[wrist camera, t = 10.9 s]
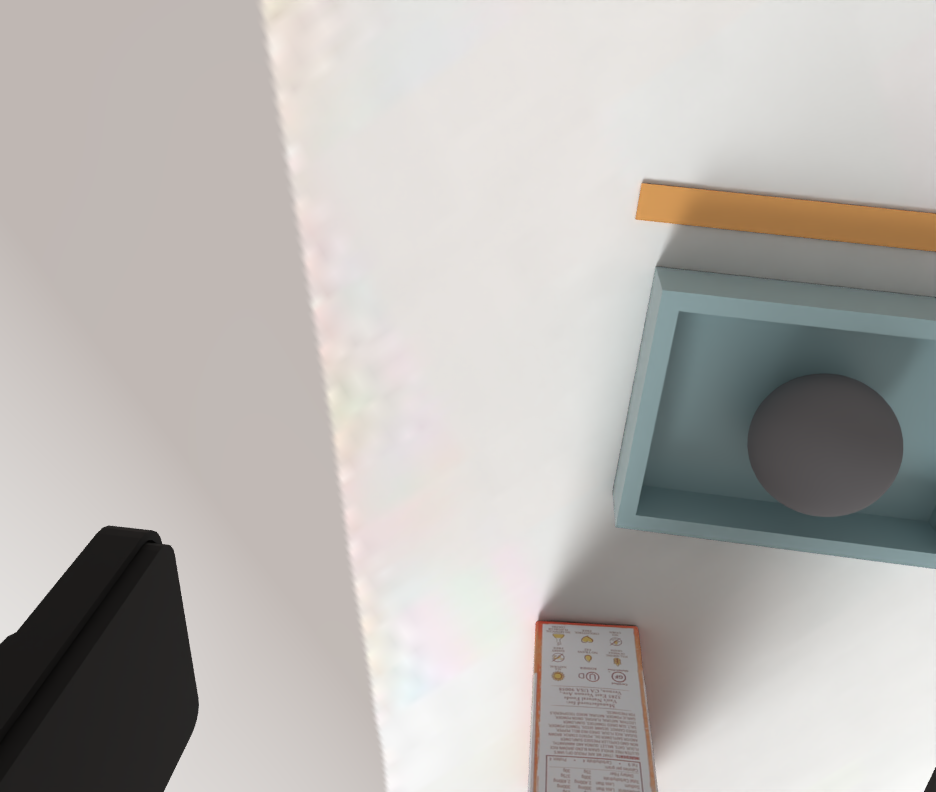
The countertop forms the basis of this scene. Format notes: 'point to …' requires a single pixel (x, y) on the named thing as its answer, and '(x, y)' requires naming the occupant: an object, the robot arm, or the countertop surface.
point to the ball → (825, 445)
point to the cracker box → (589, 711)
